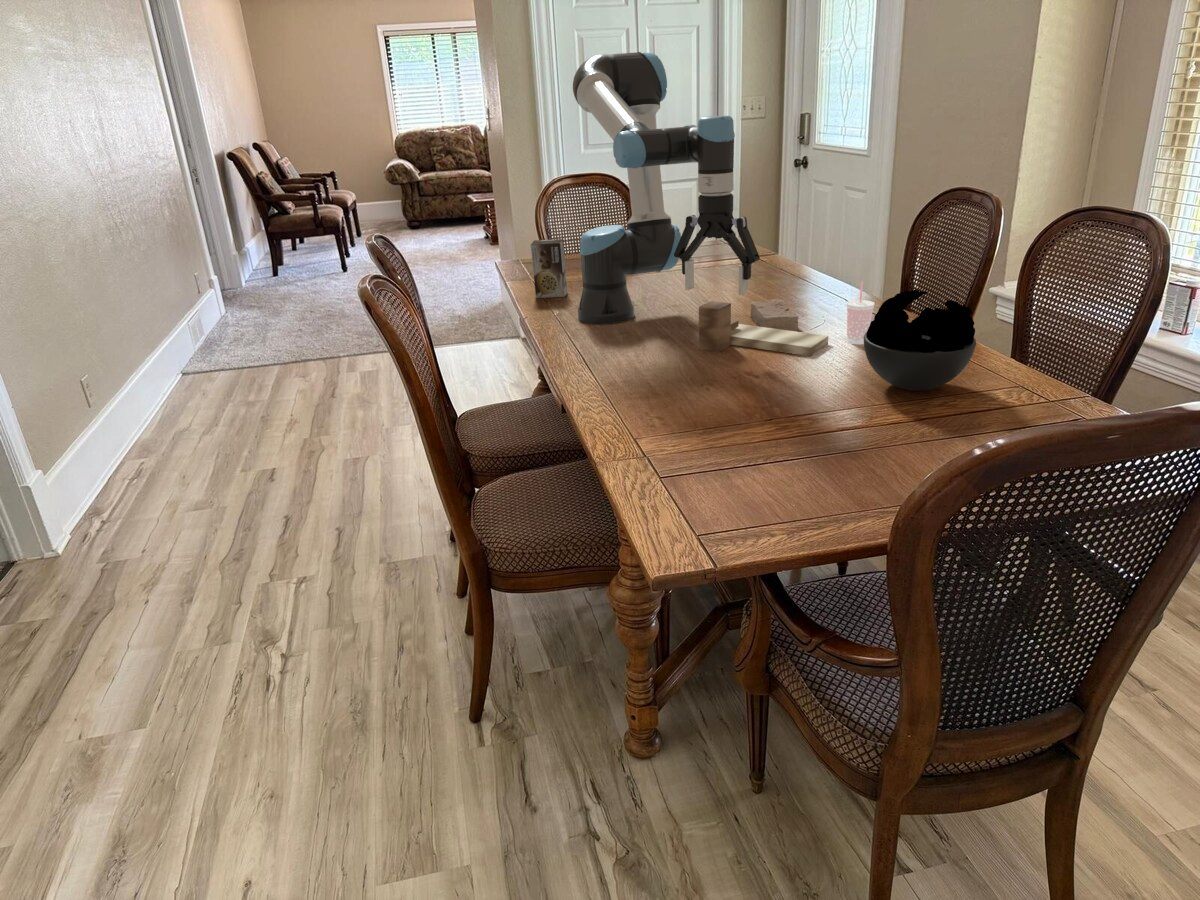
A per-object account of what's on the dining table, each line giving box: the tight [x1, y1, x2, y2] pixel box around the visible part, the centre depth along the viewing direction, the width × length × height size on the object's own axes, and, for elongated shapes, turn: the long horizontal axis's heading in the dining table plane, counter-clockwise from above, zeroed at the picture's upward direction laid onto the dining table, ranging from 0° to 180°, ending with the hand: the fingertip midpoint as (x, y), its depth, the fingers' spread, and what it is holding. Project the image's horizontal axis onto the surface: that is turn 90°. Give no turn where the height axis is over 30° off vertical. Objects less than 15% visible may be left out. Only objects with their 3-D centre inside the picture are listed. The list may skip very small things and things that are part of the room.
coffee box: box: [530, 238, 568, 299], centre depth 239 cm, size 9×6×16 cm
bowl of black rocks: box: [863, 289, 977, 391], centre depth 152 cm, size 20×20×19 cm
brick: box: [750, 298, 799, 332], centre depth 200 cm, size 17×8×5 cm, turn 3°
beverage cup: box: [845, 280, 875, 345], centre depth 182 cm, size 6×6×14 cm
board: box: [730, 323, 829, 357], centre depth 187 cm, size 26×10×2 cm, turn 53°
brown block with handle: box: [698, 300, 740, 353], centre depth 187 cm, size 5×13×10 cm, turn 143°
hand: (715, 291), depth 181 cm, fingers open, 13 cm apart
